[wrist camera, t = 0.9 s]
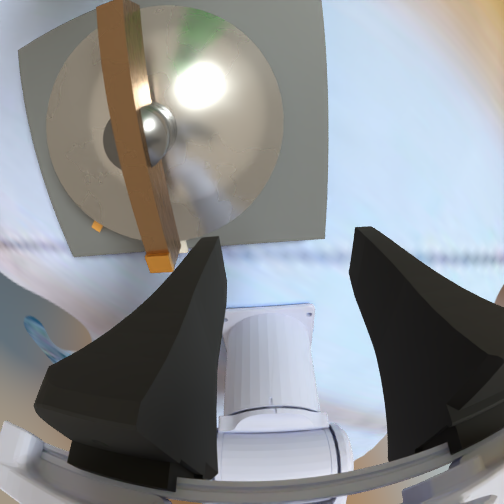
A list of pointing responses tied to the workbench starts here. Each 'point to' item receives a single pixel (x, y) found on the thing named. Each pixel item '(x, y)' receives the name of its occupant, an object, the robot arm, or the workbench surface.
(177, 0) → the stand plate
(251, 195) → the dial
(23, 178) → the workbench surface
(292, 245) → the workbench surface
